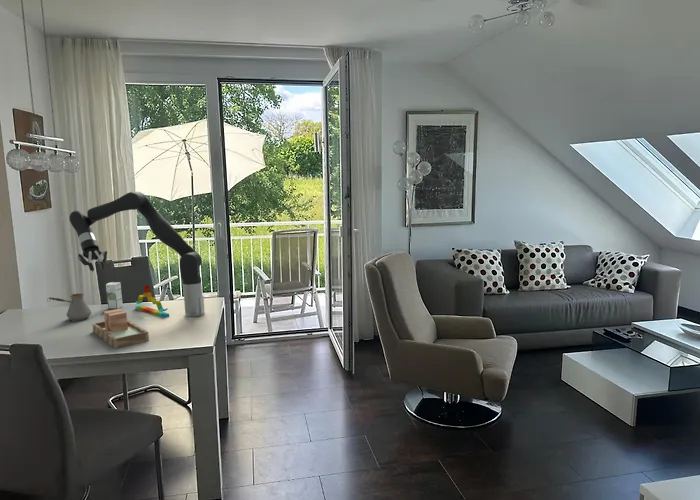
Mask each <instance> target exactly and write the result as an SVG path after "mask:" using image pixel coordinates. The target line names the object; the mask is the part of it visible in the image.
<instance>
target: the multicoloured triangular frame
mask: <svg viewBox="0 0 700 500" xmlns="http://www.w3.org/2000/svg"><path fill="white" fill-rule="evenodd" d="M145 297H146V298H147V302H148V303H149V302H151V303H152V304H153V305H156V307H157V309H154V308H151V307H148V306H144V305H142V304H143V303H142V302H143V300H144V299H143V298H145ZM134 304H137V305H135V310H137V311H141V312H144V313H146V314H150V315H153V316H157V317H160V318H164V319H165V318H169V317H170V313H168V312H166V311H168V308H164V306H163V305H162V302H161V300H157V297H156V296H153V294H152V292H151V287H150V285H144V288H143V294H140V295H138V298H137V301H135V302H134Z"/></svg>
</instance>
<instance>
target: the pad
mask: <svg viewBox="0 0 700 500" xmlns="http://www.w3.org/2000/svg"><path fill="white" fill-rule="evenodd" d="M138 333H140V332H139V331H137V330H136V329H134V328H131V329H127V330H123V331H118V332H113V333H110V334H111V335H112V336H114V337H115V338H120V337H124V336H129V335H133V334H138Z"/></svg>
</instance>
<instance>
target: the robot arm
mask: <svg viewBox="0 0 700 500" xmlns="http://www.w3.org/2000/svg"><path fill="white" fill-rule="evenodd" d="M131 210H132V211H135V210H137V211H138V212H139V213H140V214H141V215H142V216H143V217H144V219H145V220H146V222H147V224H148V225H149V228H150V231H151V232H152V233H153V235H154V236H155V237H156V238H157V239H158V240H159V241H160V242H161V243H163V244H164V245H166V246H167V247H169V248H171V249H172V250H173V251H175V252H176V253H177V254H178V255H179V256H180V258H179V270H180V271H179V272H180V278H181V280H182V289H183V304H184V315H185V317H189V318H190V317H191V318H193V317H195V318H196V317H200V316H203V315H204V314H205V313H206V312H205V303H204V302H205V299H204V297H205V296H204V295H203V289H202V277H201V276H200V275H199V267H201V265H202V264H203V263H202V262H203V260H202V256H201V254H199V252H197V251H196V250H195V249H194V248H193V247H191V246H190V245H189V244H188V243H187V242H186V240H184V238H183V237H182V235H180V234H179V233H178V232H177V230H176V229H174V227H173V226H172V225H171V223H170V222H169V221H167V220H166V219H165V217H164V216H163V215H162V214H161V213H160V212H159V211H158V210H157V209H156V208H155V206H154V205H153V204H152V203H151V201H150V200H149V199H148V197H147V196H146V195H145V194H144V193H143V192H141V191H130V192H127V193H125V194H124V195H122V196H120V197H118V198H116V199H114V200H112V201H110V202H106V203H103V204H100V205H96V206H93V207H92V208H90V209H88V210H87V214H86V213H84V212H82V211H80V210H73V211H72V212H71V213H70V214H69V219H68V220H69V222H70V224H71V226H72V227H73V229H74V230H75V232H76V234H77V238H78V241H79V242H78V243H79V245H80V247H81V250H82V253H79V254H77V259H78V260H79V262H80V263H81V264H82V265H83V266H87V267H88V269H89V271H91V272H95V271H94V270H95V267H94V265H93V263H92V261H96V262H98V264H99V268H100V270H101V271H104V269H105V264H106V261H107V258H108V257H107V256H108V251H107V250H105V251H102V250H101V249H100V246H99V244H98V242H97V239H96V236H95V234H94V232H93V230H92V227H91V226H92V225H94V224H95V223H96V222H99V221H102V220H104V219H106V218H108V217H111V216H113V215H115V214H118V213H120V212H125V211H131ZM101 256H102V257H103V259H102V257H101Z"/></svg>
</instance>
